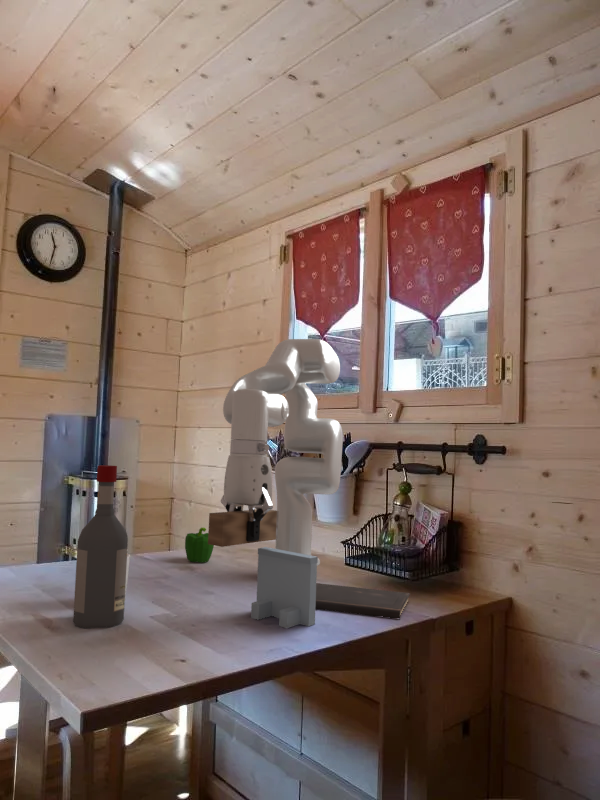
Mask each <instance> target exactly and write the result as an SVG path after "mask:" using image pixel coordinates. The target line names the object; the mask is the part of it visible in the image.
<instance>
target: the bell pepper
mask: <svg viewBox="0 0 600 800" xmlns="http://www.w3.org/2000/svg"><path fill="white" fill-rule="evenodd" d="M206 531H207V528H206V527H200V528H199V530H198V532H196V533H193V532H191V533H190V532H189V533H187V534H186V536H185V539H184V540H185V541H184V549H185V554H186V558H187V560H188V562H190V563H201V564H202V563H207V562H208V563H209V560H210V559H211V557H212V554H213V550H214V547H215V545H210V544H208V532H206ZM203 532H205V533H203Z"/></svg>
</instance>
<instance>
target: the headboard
mask: <svg viewBox="0 0 600 800" xmlns="http://www.w3.org/2000/svg"><path fill="white" fill-rule="evenodd" d="M257 557H258V558H257V577H256V578H257V583H256V601H254V602H251V604H250V605H251V607H250V608H251V610H250V618H251V619H253V620H256V619H257V621H260V620H263V619H266V618H268V617H269V618H270V617H273V616H274V617H273V618H277V619H279V620H278V621H279V622H278V623H279V624H278V627H281V628H285V629H289V628H291V627H295V626H297V625H302V626H303V625H304V626H306V627H311V626H314V625H315V624H316V609H315V607H316V583H317V576H318V574H317V571H318V569H317V568H318V565H317V563H318V559H319V557H318V556H315V555H312V554H311V555H306V554H300V553H295V552H290V551H284V550H279V549H275V548H273V547H267V546H264V547H258V548H257ZM265 617H266V618H265ZM262 618H263V619H262ZM259 619H260V620H259Z"/></svg>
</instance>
